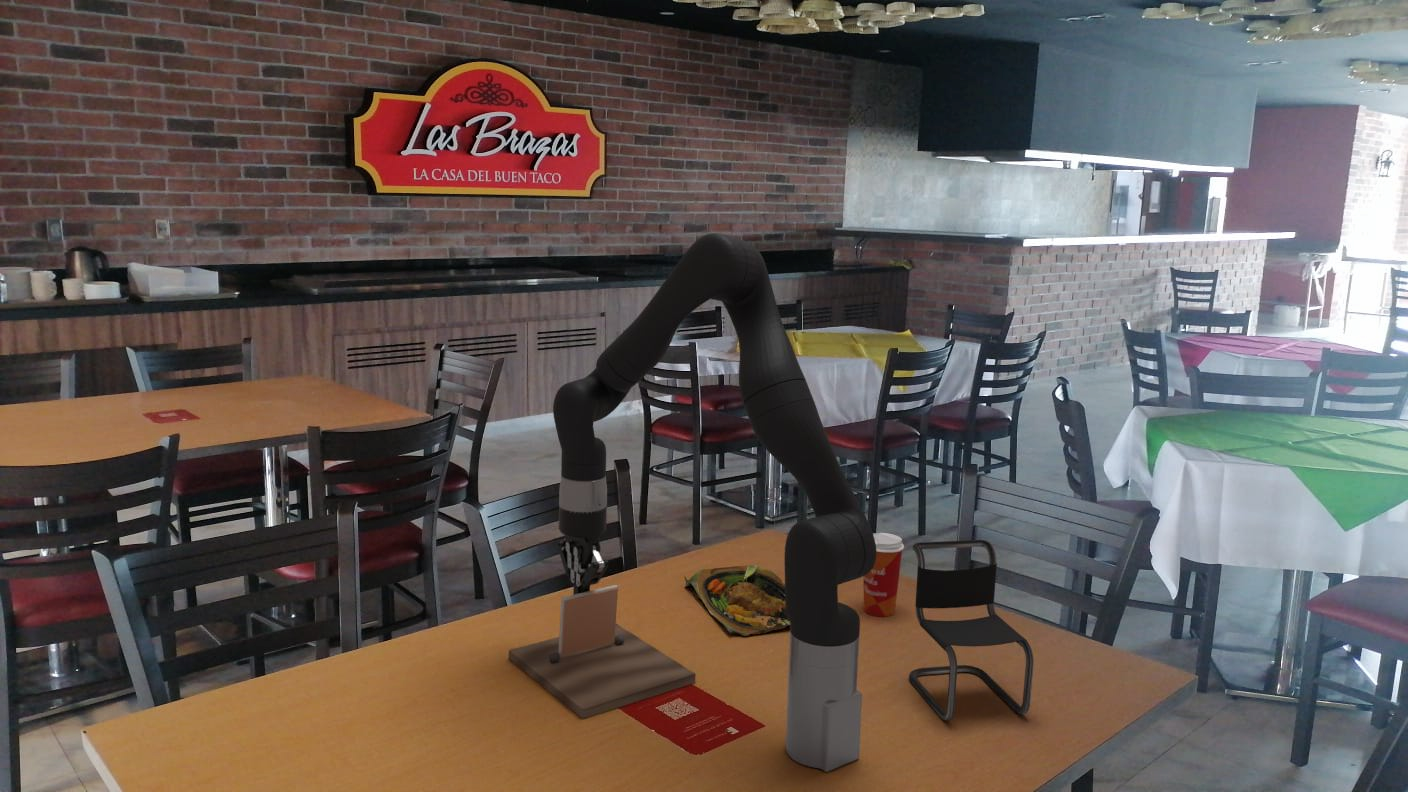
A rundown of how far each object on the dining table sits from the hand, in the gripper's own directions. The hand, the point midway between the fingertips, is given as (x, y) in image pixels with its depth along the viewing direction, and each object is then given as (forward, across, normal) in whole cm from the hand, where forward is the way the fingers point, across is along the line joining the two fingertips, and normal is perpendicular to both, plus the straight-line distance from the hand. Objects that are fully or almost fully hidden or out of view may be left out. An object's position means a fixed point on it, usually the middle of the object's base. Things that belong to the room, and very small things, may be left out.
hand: (581, 605), depth 164 cm
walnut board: (+9, -6, 0) cm, 11 cm away
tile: (+2, -2, 0) cm, 3 cm away
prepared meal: (+10, +2, -37) cm, 39 cm away
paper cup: (+8, -14, -55) cm, 57 cm away
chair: (+8, -45, -41) cm, 61 cm away
